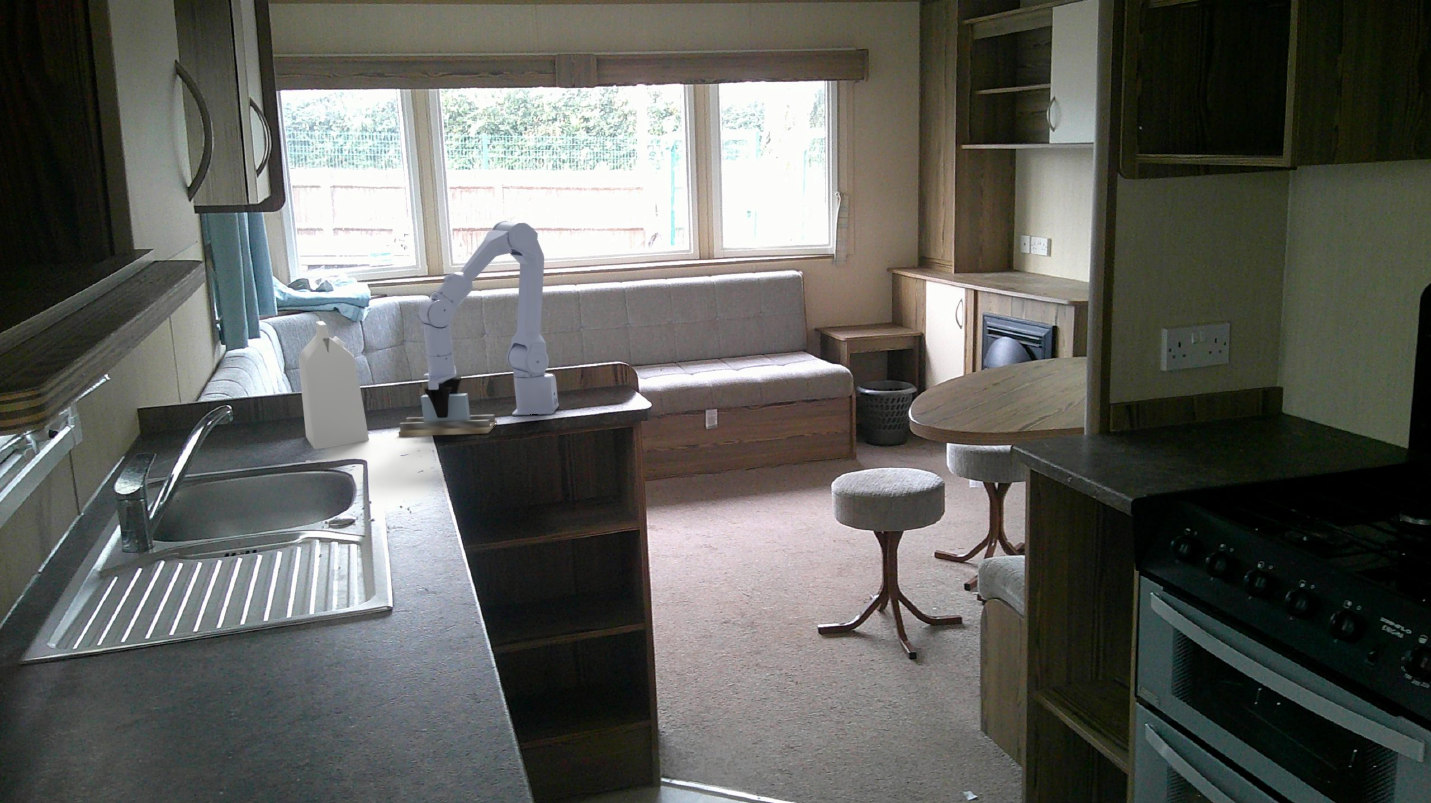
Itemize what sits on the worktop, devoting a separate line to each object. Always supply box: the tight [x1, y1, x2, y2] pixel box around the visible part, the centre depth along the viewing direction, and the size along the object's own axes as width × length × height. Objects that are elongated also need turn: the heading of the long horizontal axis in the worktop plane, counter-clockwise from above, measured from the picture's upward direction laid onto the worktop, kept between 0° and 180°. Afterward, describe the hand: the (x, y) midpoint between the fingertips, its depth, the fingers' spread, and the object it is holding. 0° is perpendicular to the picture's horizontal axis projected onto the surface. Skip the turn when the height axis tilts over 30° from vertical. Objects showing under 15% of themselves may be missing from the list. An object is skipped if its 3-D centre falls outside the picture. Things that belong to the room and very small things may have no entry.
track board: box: [397, 414, 498, 437], centre depth 255 cm, size 20×8×2 cm, turn 86°
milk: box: [298, 320, 370, 450], centre depth 250 cm, size 12×12×26 cm
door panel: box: [420, 392, 471, 422], centre depth 254 cm, size 10×2×7 cm, turn 86°
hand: (446, 413), depth 254 cm, fingers open, 6 cm apart
